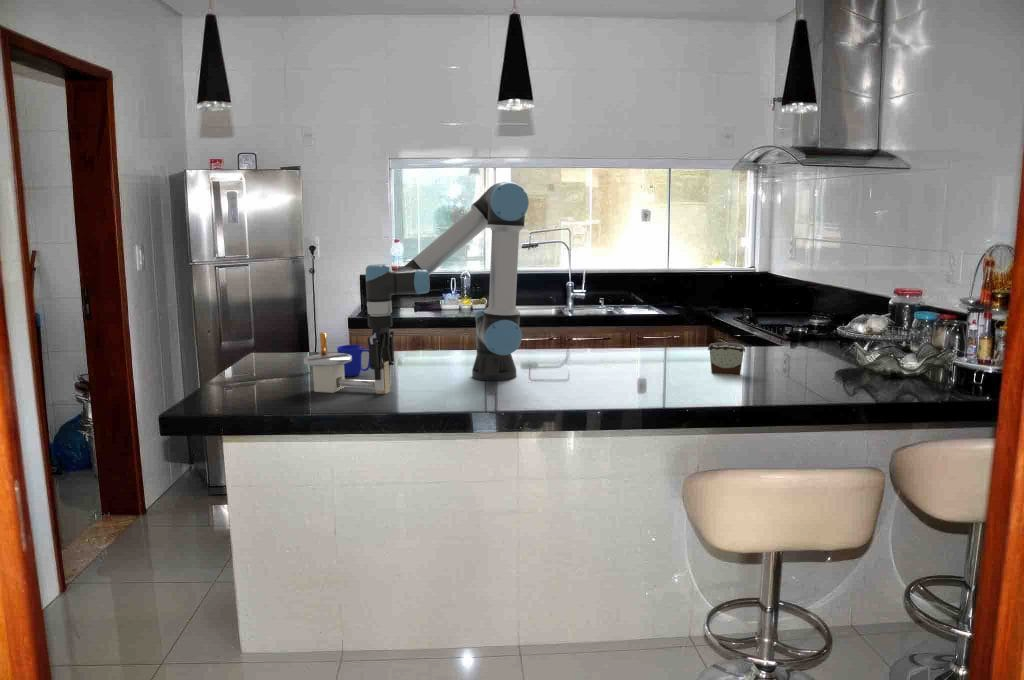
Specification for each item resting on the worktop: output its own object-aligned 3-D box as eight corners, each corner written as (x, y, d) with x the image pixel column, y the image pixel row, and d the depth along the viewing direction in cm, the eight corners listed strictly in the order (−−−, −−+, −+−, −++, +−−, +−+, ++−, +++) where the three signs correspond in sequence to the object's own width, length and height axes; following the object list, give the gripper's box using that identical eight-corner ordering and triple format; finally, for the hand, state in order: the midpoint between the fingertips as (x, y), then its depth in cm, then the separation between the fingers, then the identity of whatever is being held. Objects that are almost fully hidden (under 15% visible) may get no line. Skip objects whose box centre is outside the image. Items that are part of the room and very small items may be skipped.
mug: (367, 378, 268) (366, 349, 266) (334, 377, 270) (333, 348, 269) (376, 373, 276) (375, 345, 274) (344, 372, 278) (343, 344, 276)
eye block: (345, 387, 255) (343, 360, 254) (333, 392, 248) (332, 365, 247) (326, 386, 257) (324, 359, 256) (314, 391, 250) (312, 364, 249)
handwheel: (341, 354, 261) (340, 330, 260) (359, 361, 249) (357, 336, 248) (297, 360, 253) (295, 335, 252) (313, 368, 241) (312, 342, 239)
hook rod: (390, 391, 248) (388, 360, 246) (385, 394, 245) (383, 362, 243) (320, 387, 256) (318, 357, 254) (314, 389, 253) (312, 359, 251)
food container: (747, 372, 266) (748, 343, 264) (744, 376, 260) (745, 346, 258) (710, 369, 271) (711, 341, 269) (707, 373, 265) (707, 344, 263)
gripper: (381, 310, 252) (385, 380, 256) (355, 318, 236) (359, 393, 240) (403, 310, 250) (406, 381, 254) (377, 319, 233) (381, 394, 237)
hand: (383, 387), depth 247 cm, fingers open, 4 cm apart
